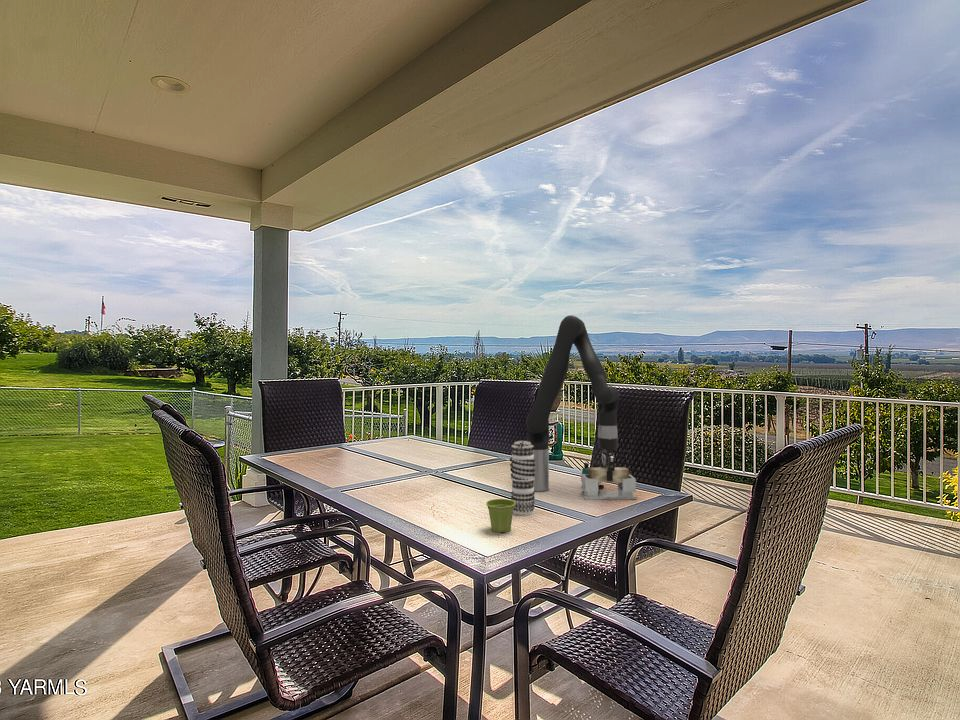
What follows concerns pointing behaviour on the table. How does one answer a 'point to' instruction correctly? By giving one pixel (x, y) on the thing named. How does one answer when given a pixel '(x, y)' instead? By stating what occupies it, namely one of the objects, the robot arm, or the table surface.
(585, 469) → the binoculars
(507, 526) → the plant pot
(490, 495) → the table surface
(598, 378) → the robot arm
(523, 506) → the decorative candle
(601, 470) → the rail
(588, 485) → the cup bracket
